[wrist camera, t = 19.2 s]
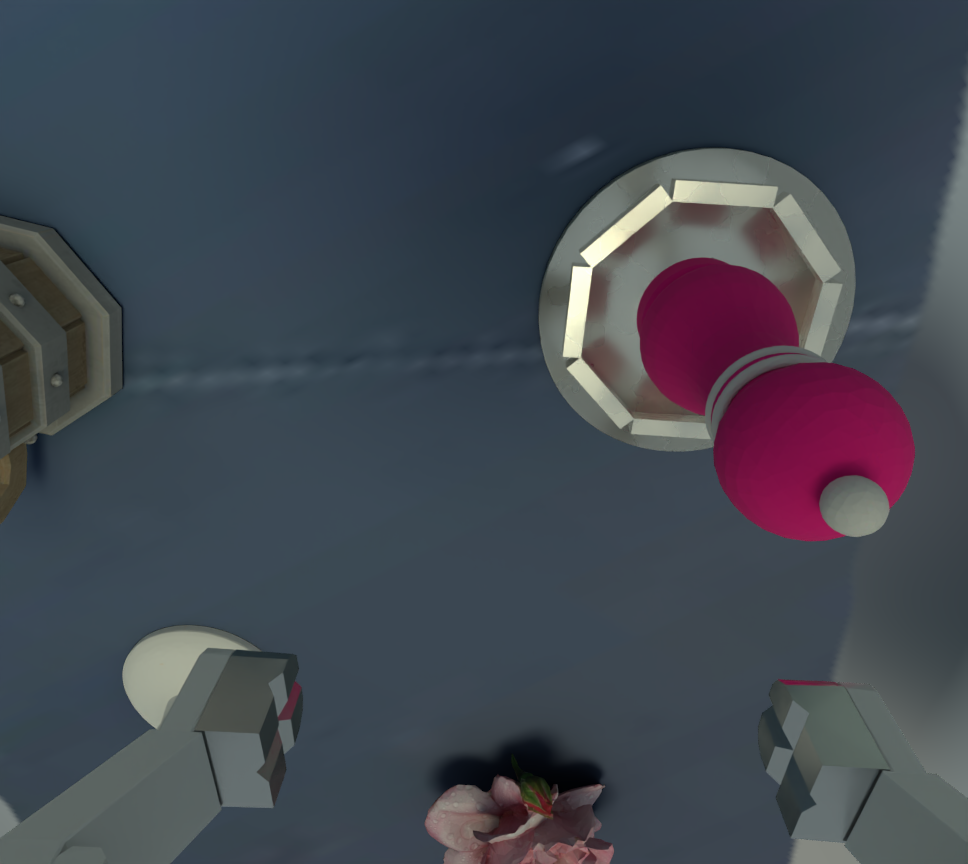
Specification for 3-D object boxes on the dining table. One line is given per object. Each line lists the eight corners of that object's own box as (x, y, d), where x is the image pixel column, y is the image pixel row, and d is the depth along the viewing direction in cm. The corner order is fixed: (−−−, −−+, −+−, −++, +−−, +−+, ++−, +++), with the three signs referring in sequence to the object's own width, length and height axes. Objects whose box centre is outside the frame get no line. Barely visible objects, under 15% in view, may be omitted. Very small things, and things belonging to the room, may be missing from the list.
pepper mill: (708, 217, 34) (925, 349, 16) (787, 316, 36) (1056, 529, 18) (600, 311, 36) (683, 517, 18) (679, 398, 38) (823, 658, 21)
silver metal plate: (554, 137, 33) (556, 139, 31) (891, 158, 33) (912, 161, 31) (526, 434, 41) (526, 449, 39) (799, 452, 41) (811, 468, 39)
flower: (462, 890, 59) (483, 1009, 49) (404, 766, 54) (415, 871, 45) (613, 821, 60) (661, 925, 51) (568, 695, 56) (612, 783, 46)
